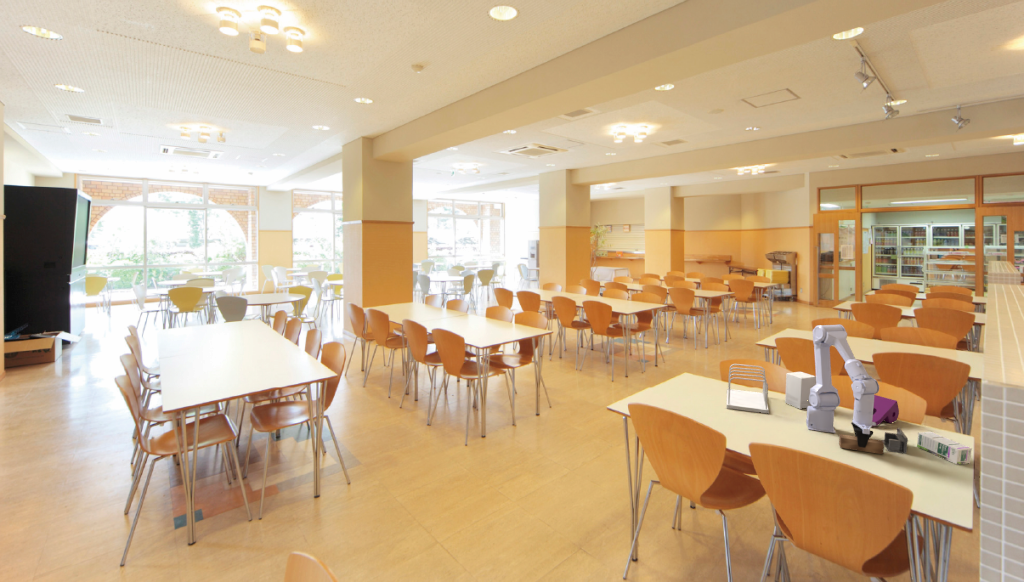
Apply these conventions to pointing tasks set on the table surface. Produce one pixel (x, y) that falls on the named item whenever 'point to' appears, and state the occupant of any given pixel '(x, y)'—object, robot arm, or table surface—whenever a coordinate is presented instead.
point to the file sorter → (748, 393)
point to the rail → (871, 446)
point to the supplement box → (799, 389)
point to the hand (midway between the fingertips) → (860, 444)
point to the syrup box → (944, 447)
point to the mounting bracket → (884, 410)
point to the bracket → (896, 441)
